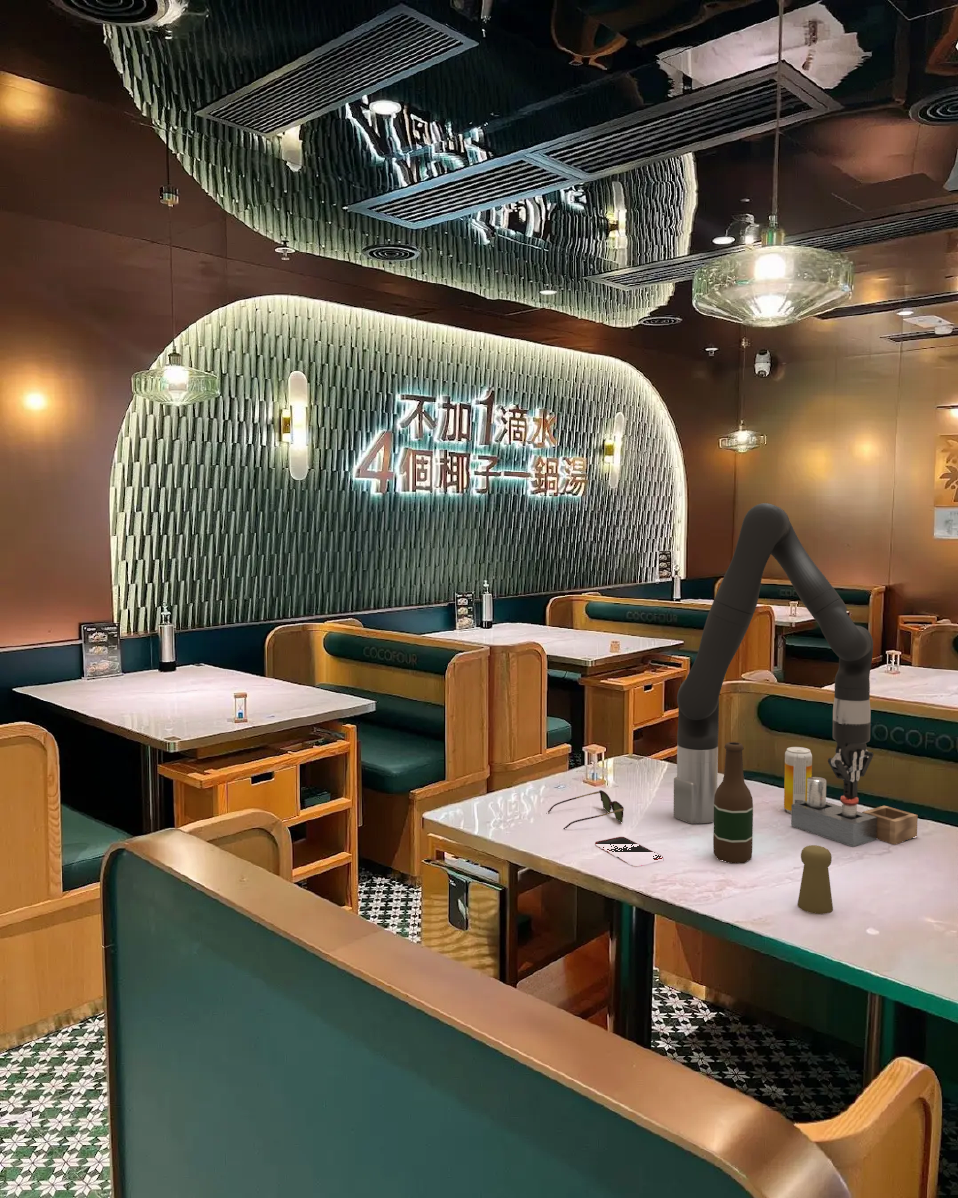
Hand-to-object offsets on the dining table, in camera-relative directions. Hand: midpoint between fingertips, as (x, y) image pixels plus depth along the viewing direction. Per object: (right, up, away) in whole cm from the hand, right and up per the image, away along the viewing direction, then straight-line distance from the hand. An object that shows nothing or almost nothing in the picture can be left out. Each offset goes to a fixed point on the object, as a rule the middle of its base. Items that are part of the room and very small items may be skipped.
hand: (850, 797), depth 199 cm
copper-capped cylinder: (0, -6, 0) cm, 6 cm away
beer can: (-5, -8, +19) cm, 21 cm away
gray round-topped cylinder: (-5, -9, +8) cm, 12 cm away
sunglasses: (-56, -9, +15) cm, 59 cm away
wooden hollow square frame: (+9, -9, +2) cm, 13 cm away
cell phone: (-49, -11, -6) cm, 51 cm away
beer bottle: (-28, -11, -10) cm, 32 cm away
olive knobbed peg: (-20, -13, -34) cm, 41 cm away
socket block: (-2, -9, +4) cm, 10 cm away
